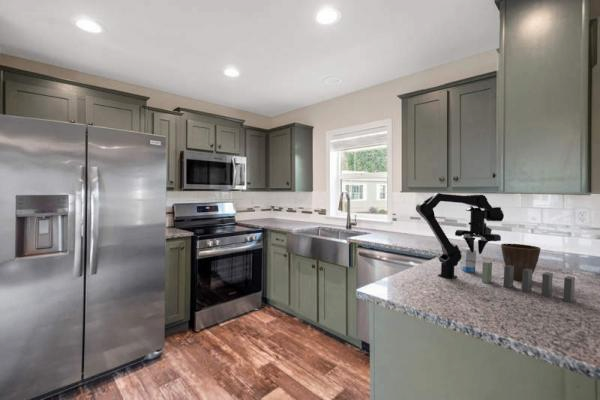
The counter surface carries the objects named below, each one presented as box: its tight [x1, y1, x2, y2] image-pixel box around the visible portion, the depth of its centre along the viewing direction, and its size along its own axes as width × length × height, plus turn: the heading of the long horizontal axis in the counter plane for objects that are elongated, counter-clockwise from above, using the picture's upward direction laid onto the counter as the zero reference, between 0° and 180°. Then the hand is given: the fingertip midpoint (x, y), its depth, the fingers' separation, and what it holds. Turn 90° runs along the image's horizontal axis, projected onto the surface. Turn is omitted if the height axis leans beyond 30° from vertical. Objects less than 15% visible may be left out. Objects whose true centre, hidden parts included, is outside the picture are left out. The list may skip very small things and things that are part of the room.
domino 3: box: [541, 271, 553, 298], centre depth 113 cm, size 5×2×9 cm, turn 126°
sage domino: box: [481, 260, 493, 284], centre depth 131 cm, size 2×5×9 cm, turn 125°
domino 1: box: [503, 265, 514, 289], centre depth 124 cm, size 5×2×9 cm, turn 126°
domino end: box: [563, 275, 576, 304], centre depth 108 cm, size 5×2×9 cm, turn 126°
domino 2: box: [521, 268, 533, 294], centre depth 118 cm, size 5×2×9 cm, turn 126°
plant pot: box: [500, 243, 542, 282], centre depth 135 cm, size 15×15×16 cm
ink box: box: [459, 246, 477, 274], centre depth 149 cm, size 9×5×12 cm, turn 168°
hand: (476, 253), depth 136 cm, fingers open, 3 cm apart
